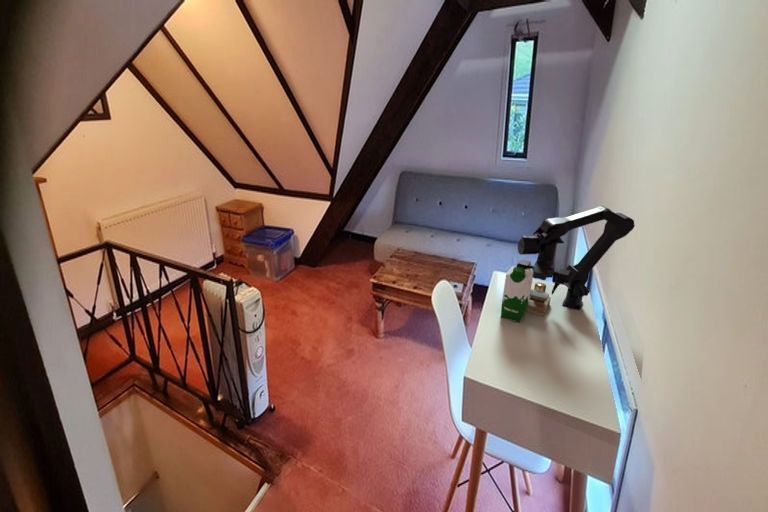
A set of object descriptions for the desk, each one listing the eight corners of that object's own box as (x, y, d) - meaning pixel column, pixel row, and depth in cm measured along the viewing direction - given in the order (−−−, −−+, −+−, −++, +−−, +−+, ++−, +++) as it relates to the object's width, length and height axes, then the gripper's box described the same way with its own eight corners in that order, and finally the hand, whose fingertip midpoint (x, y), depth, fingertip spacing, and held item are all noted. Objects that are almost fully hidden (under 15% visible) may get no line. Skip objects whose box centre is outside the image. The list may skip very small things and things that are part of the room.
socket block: (528, 298, 157) (531, 281, 154) (549, 304, 153) (553, 287, 150) (521, 309, 149) (524, 292, 146) (543, 316, 145) (546, 298, 142)
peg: (530, 305, 152) (533, 285, 148) (532, 301, 155) (536, 281, 151) (540, 309, 150) (544, 288, 146) (543, 304, 153) (547, 284, 149)
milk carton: (497, 317, 144) (504, 268, 136) (504, 306, 151) (512, 259, 143) (521, 324, 140) (530, 275, 132) (528, 313, 147) (536, 265, 139)
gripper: (514, 255, 142) (508, 292, 148) (569, 267, 133) (561, 307, 139) (523, 245, 151) (517, 281, 157) (575, 256, 141) (567, 294, 148)
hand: (539, 290), depth 150 cm, fingers open, 9 cm apart
